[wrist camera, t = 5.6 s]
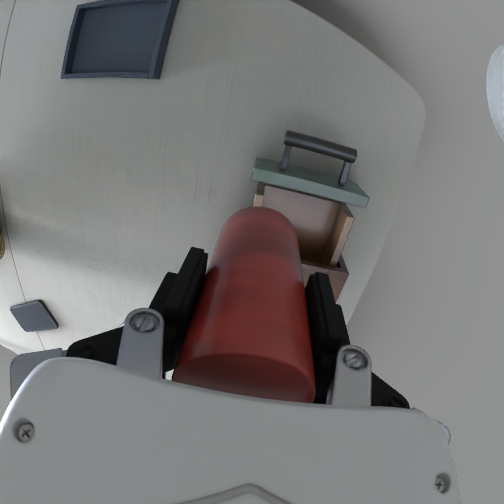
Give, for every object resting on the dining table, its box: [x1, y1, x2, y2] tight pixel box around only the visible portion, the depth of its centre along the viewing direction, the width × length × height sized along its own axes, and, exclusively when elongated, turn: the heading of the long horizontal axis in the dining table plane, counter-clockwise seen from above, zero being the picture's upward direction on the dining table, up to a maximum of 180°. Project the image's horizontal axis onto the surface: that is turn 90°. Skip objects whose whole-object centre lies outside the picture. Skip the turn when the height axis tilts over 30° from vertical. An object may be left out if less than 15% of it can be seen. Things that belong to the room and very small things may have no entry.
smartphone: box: [10, 300, 58, 332], centre depth 47 cm, size 7×1×15 cm
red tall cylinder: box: [172, 206, 316, 403], centre depth 12 cm, size 4×4×10 cm
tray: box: [61, 0, 179, 79], centre depth 23 cm, size 13×10×2 cm
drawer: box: [251, 130, 369, 267], centre depth 30 cm, size 16×11×5 cm
